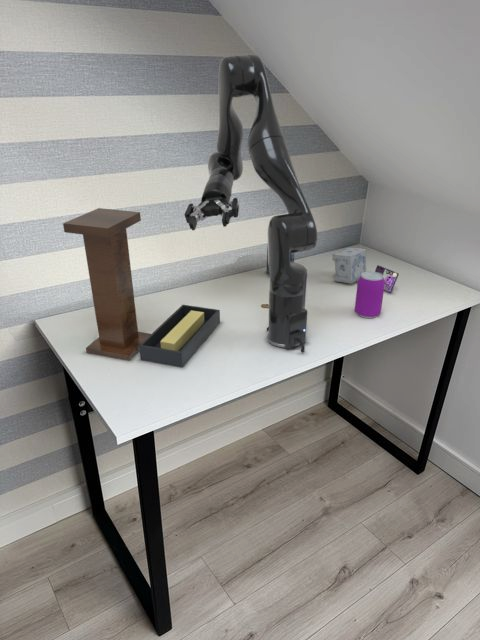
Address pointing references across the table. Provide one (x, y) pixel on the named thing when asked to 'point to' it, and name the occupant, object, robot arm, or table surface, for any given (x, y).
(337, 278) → the incense holder
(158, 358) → the pan
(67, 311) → the table surface
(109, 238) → the shelf stand
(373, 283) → the beverage can
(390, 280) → the game card
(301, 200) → the robot arm
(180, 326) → the butter
